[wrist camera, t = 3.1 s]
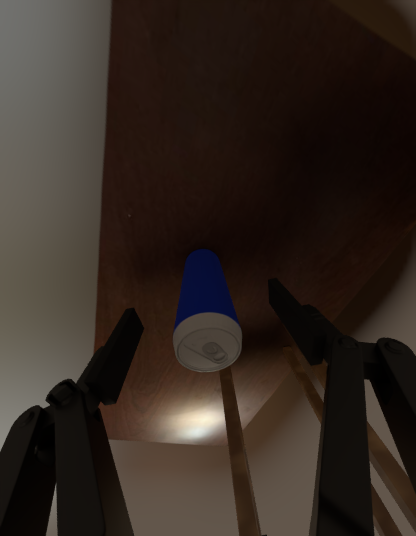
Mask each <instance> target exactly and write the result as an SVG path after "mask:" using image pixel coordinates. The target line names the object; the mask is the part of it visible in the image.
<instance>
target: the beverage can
mask: <svg viewBox="0 0 416 536" xmlns="http://www.w3.org/2000/svg"><path fill="white" fill-rule="evenodd" d="M173 344H174V349H175V354H176V357H177V359H178V361H179V362H180V363H181V364H182V365H183V366H184V367H186V368H188V369H190V370H194V371H198V372H212V371H217V370H221V369H223V368H226V367H228V366H229V365H231V364H232V363H233V362H234V361H235V360H236V359H237V358H238V356H239V355H240V352H241V347H242V331H241V328H240V325H239V322H238V319H237V315H236V312H235V309H234V306H233V303H232V299H231V296H230V293H229V290H228V287H227V283H226V280H225V277H224V274H223V271H222V267H221V264H220V261H219V258H218V256H217V255H216V254H215V253H214V252H212V251H210V250H207V249H198V250H195V251H193V252H192V253H191V254H190V255H189V256H188V257H187V259H186V262H185V268H184V274H183V280H182V286H181V292H180V298H179V304H178V309H177V315H176V321H175V327H174V333H173Z"/></svg>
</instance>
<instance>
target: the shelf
mask: <svg viewBox="0 0 416 536" xmlns="http://www.w3.org/2000/svg"><path fill="white" fill-rule="evenodd" d="M284 327H285V326H284ZM286 330H287V329H286ZM287 332H288V331H287ZM288 333H289V332H288ZM289 335H290V334H289ZM290 336H291V335H290ZM291 338H292V337H291ZM292 339H293V338H292ZM293 341H294V340H293ZM294 343H295V341H294ZM295 344H296V343H295ZM296 346H297V345H296ZM297 347H298V346H297ZM298 349H299V348H298ZM299 350H300V349H299ZM300 352H301V351H300ZM283 353H284V355H285V357H286V359H287V361H288V363H289V365H290V367H291V368H292V370H293V372H294V374H295V376H296V378H297V380H298V382H299V384H300V385H301V387H302V389H303V391H304V393H305V395H306V397H307V399H308V401H309V403H310V404H311V406H312V408H313V410H314V412H315V414H316V416H317V418H318V420H319V421H320V423H321V422H322V413H323V401H322V399H321V398H320V396H319V394H318V393H317V391H316V389H315V388H314V386H313V384H312V383H311V381H310V379H309V377H308V376H307V374H306V372H305V371H304V369H303V367H302V366H301V364H300V362H299V361H298V359H297V357H296V356H295V354H294V352H293V350H292V349H291V347H290V346H288V347H283ZM301 354H302V352H301ZM302 355H303V354H302ZM303 357H304V355H303ZM304 358H305V357H304ZM305 360H306V358H305ZM306 361H307V360H306ZM307 363H308V361H307ZM308 364H309V363H308ZM309 366H310V364H309ZM310 368H311V369H312V371H313V372H314V374H315V376H316V377H317V379H318V380H319V382H320V383H321V385H322V387H323V388H324V390H325V384H326V375H327V374H326V371H327V366H326V364H325V363H324V362H322V364H319V365H313V366H310ZM219 372H220V380H221V388H222V397H223V405H224V413H225V421H226V430H227V438H228V446H229V455H230V463H231V471H232V479H233V487H234V495H235V504H236V512H237V520H238V529H239V536H262V535H261V530H260V524H259V519H258V513H257V508H256V503H255V497H254V492H253V486H252V481H251V476H250V470H249V465H248V460H247V454H246V449H245V444H244V438H243V433H242V427H241V422H240V416H239V411H238V406H237V400H236V395H235V389H234V384H233V379H232V373H231V368H230V365H229V366H228V367H226V368H223V369H221V370H219ZM367 432H368V447H369V460H370V462H371V463H372V464H373V467H374V468H375V470H376V471H377V473H378V474H379V476H380V477H381V479H382V481H383V482H384V484H385V485H386V487H387V488H388V490H389V492H390V493H391V495H392V496H393V498H394V499H395V501H396V503H397V504H398V506H399V507H400V509H401V510H402V512H403V513H404V515H405V517H406V518H407V520H408V521H409V523H410V525H411V526H412V527H413V529H414V531H415V532H416V494H415V492H414V489H413V487H412V484H411V482H410V479H409V477H408V476H407V475H406V473H405V472H404V471H403V469H402V468H401V466H400V465H399V464H398V462H397V461H396V460H395V458H394V457H393V456H392V454H391V453H390V451H389V450H388V449H387V448H386V446H385V445H384V443H383V442H382V441H381V439H380V438H379V436H378V435H377V434H376V432H375V431H374V430H373V428H372V427H371V426H370V424H369V423H368V422H367ZM371 493H372V509H373V524H374V526H375V527H376V529H377V531H378V533H379V535H380V536H402V535H401V533H400V531H399V529H398V527H397V526H396V524H395V522H394V521H393V519H392V517H391V516H390V514H389V512H388V511H387V509H386V507H385V506H384V504H383V502H382V500H381V499H380V497H379V496H378V494H377V492H376V491H375V489H374V487H373V485H372V484H371Z"/></svg>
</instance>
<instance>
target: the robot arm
mask: <svg viewBox="0 0 416 536" xmlns="http://www.w3.org/2000/svg"><path fill="white" fill-rule="evenodd" d="M268 286H269V303H270V305H271V306H272V308H273V309H274V311H275V312H276V314H277V315H278V317H279V318H280V320H281V322H282V323H283V325H284V326H285V328H286V329H287V331H288V332H289V334H290V335H291V337H292V338H293V340H294V341H295V343H296V345H297V346H298V348H299V349H300V351H301V352H302V354H303V355H304V357H305V358H306V360H307V361H308V363H309V364H310V366H313V365H319V364H322V362H323V358H324V359H325V361H326V362H327V363H328V366H327V371H326V374H327V375H326V384H325V394H324V403H323V413H322V422H321V432H320V442H319V451H318V461H317V470H316V480H315V489H314V498H313V508H312V516H311V522H310V530H309V536H374V524H373V509H372V493H371V478H370V463H369V447H368V432H367V417H366V401H365V386H364V379H367V380H370V382H371V384H372V387H373V389H374V392H375V394H376V397H377V399H378V402H379V404H380V407H381V409H382V412H383V414H384V417H385V419H386V422H387V424H388V427H389V429H390V432H391V434H392V437H393V439H394V441H395V444H396V447H397V449H398V452H399V454H400V457H401V459H402V462H403V464H404V467H405V469H406V472H407V474H408V477H409V479H410V482H411V484H412V487H413V489H414V492H415V494H416V356H415V354H414V353H413V351H412V350H411V349H410V348H409V347H408V346H407V345H405V344H403V343H402V342H400V341H397V340H395V339H391V338H380V339H378V341H377V343H365V342H358V341H356V340H355V339H354V338H352V337H350V336H347V335H343V334H342V333H341V332H340V331H339V330H338V329H337V328H336V327H335V326H334V325H333V324H332V323H331V322H330V321H329V320H328V319H327V318H325V317H324V316H323V315H322V314H321V313H320V312H319V311H318V310H317V309H316V308H315V307H313V306H311V305H309V304H308V305H303V306H301V305H300V303H299V302H298V301H297V300H296V299H295V298H294V297H293V296H292V295H291V294H290V293H289V291H288V290H287V289H286V288H285V287H284V286H283V285H282V284H281V283H280V282H279V281H278V279H277V278H274V279H269V280H268ZM143 330H144V327H143V325H142V323H141V321H140V319H139V317H138V315H137V313H136V311H135V309H134V308H129V309H126V310H125V312H124V313H123V315H122V317H121V319H120V320H119V322H118V324H117V325H116V327H115V329H114V330H113V332H112V334H111V336H110V337H109V339H108V341H107V342H106V344H105V346H102V347H100V348H99V349H98V350H97V351H96V352H95V354H94V355H93V357H92V358H91V361H90V362H89V363H88V366H87V367H86V368H85V370H84V372H83V373H82V375H81V376H80V378H79V380H78V381H77V383H76V384H75V382H74V381H73V380H72V379H67V380H63V381H62V382H60V383H58V384H57V385H56V386H55V387H54V388H53V389H52V390H51V391H50V392H49V394H48V395H47V397H46V402H48V403H49V404H50V406H48V407H46V408H44V409H43V408H42V407H40V406H39V405H36V406H33V407H31V408H29V409H28V410H27V411H25V412H24V413H23V414H22V415H20V416H19V417H18V419H17V420H16V421H15V422H14V424H13V425H12V427H11V429H10V431H9V433H8V436H7V438H6V440H5V442H4V445H3V447H2V449H1V451H0V536H46V532H47V526H48V521H49V516H50V511H51V506H52V500H53V496H54V490H55V485H56V491H57V528H58V536H134V533H133V529H132V525H131V522H130V518H129V514H128V511H127V507H126V503H125V500H124V496H123V492H122V489H121V485H120V481H119V478H118V474H117V470H116V467H115V463H114V459H113V456H112V452H111V448H110V444H109V441H108V437H107V433H106V430H105V426H104V422H103V419H102V415H101V411H100V409H99V408H98V406H99V404H100V401H101V402H102V403H103V404H104V405H110V404H115V403H116V402H117V399H118V397H119V394H120V391H121V389H122V386H123V383H124V381H125V378H126V375H127V373H128V370H129V367H130V365H131V362H132V359H133V357H134V354H135V351H136V349H137V346H138V343H139V341H140V338H141V335H142V333H143ZM262 536H267V535H262Z"/></svg>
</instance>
